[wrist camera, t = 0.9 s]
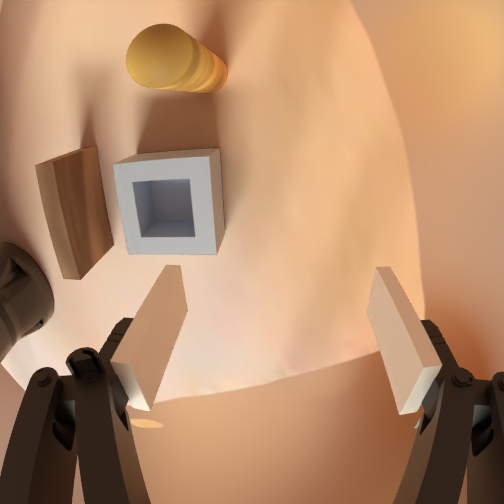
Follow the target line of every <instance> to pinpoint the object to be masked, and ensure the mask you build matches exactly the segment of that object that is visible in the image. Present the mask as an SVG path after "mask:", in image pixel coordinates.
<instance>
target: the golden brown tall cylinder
mask: <svg viewBox="0 0 504 504" xmlns="http://www.w3.org/2000/svg"><path fill="white" fill-rule="evenodd" d="M126 66H127V70H128V73H129V75H130V76H131V78H132V79H133V80H134V81H135V82H136V83H138V84H140V85H142V86H144V87H148V88H159V89H170V90H180V91H188V92H197V93H212V92H215V91H217V90H218V89H220V88H221V87H222V86H223V84H224V83H225V81H226V78H227V67H226V65H225V63H224V62H223V61H222V60H221V59H220V58H219V57H218V56H216V55H215V54H214V53H212V52H211V51H210V50H209V49H207V48H206V47H205V46H203V45H202V44H201V43H199V42H198V41H197V40H195V39H194V38H193V37H191V36H190V35H189V34H187V33H186V32H184V31H183V30H182V29H180V28H179V27H177V26H174V25H171V24H157V25H153V26H150V27H148V28H146V29H144V30H143V31H142V32H140V33H139V34H138V35H137V36H136V37H135V38H134V39H133V41H132V42H131V44H130V46H129V48H128V51H127V55H126Z"/></svg>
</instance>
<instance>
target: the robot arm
mask: <svg viewBox="0 0 504 504" xmlns="http://www.w3.org/2000/svg"><path fill="white" fill-rule="evenodd" d="M53 311H54V300H53V295H52V292H51V289H50V286H49V284H48V282H47V280H46V278H45V276H44V274H43V272H42V271H41V269H40V268H39V267H38V265H37V264H36V263H35V261H34V260H33V259H32V258H31V257H30V256H29V255H28V254H27V253H26V252H25V251H23V250H22V249H21V248H19V247H17V246H15V245H13V244H10V243H2V244H0V363H1V362H2V360H3V359H4V358H5V356H6V355H7V354H8V352H9V351H10V350H11V348H12V347H13V346H14V345H15V343H16V342H17V341H18V340H20V339H22V338H24V337H26V336H27V335H29V334H31V333H33V332H35V331H37V330H39V329H40V328H42V327H43V326H44V325H45V324H46V323H47V322H48V320H49V319H50V318H51V316H52V315H53ZM187 311H188V309H187V303H186V297H185V291H184V286H183V280H182V273H181V267H180V265H166V266H165V267H164V269H163V270H162V272H161V274H160V275H159V277H158V279H157V280H156V282H155V284H154V285H153V287H152V288H151V290H150V292H149V294H148V295H147V297H146V299H145V300H144V302H143V304H142V305H141V307H140V309H139V310H138V312H137V314H136V316H135V317H134V318H123V319H122V320H121V321H120V322H118V323H117V324H116V325H115V327H114V328H113V330H112V332H111V334H110V335H109V337H108V338H107V341H106V342H105V343H104V345H103V347H102V348H101V350H100V352H99V353H98V352H97V351H96V350H94V349H93V348H89V347H85V348H80V349H77V350H75V351H74V352H72V353H71V354H70V355H69V356H68V358H67V360H66V365H67V367H68V368H69V370H70V372H71V374H72V375H68V376H59V375H58V373H57V372H56V370H54V369H53V368H50V367H44V368H41V369H39V370H37V371H36V372H35V373H34V374H33V375H32V377H31V379H30V381H29V384H28V386H27V389H26V392H25V394H24V397H23V400H22V403H21V406H20V408H19V412H18V414H17V417H16V421H15V424H14V427H13V430H12V433H11V437H10V440H9V444H8V448H7V451H6V455H5V459H4V463H3V467H2V471H1V476H0V504H72V496H73V487H74V478H75V470H76V462H77V456H78V459H79V468H80V476H81V482H82V489H83V495H84V501H85V504H151V502H150V499H149V496H148V493H147V489H146V486H145V482H144V479H143V475H142V472H141V468H140V465H139V460H138V456H137V453H136V449H135V444H134V440H133V435H132V430H131V426H130V421H129V416H128V412H127V410H126V408H125V407H126V405H127V402H128V400H129V401H130V403H131V405H132V407H133V408H136V409H141V410H146V411H151V408H152V405H153V403H154V400H155V397H156V394H157V391H158V389H159V386H160V383H161V380H162V377H163V375H164V372H165V369H166V367H167V364H168V361H169V358H170V356H171V353H172V350H173V348H174V345H175V342H176V340H177V337H178V335H179V332H180V329H181V327H182V324H183V322H184V319H185V316H186V314H187ZM367 314H368V317H369V320H370V322H371V325H372V328H373V331H374V334H375V337H376V340H377V343H378V346H379V349H380V352H381V355H382V358H383V361H384V364H385V368H386V371H387V374H388V377H389V380H390V384H391V387H392V390H393V394H394V398H395V400H396V404H397V408H398V411H399V414H407V413H413V412H417V410H418V408H419V407H420V405H421V403H422V405H423V408H424V412H423V414H422V416H421V417H420V419H419V420H418V422H417V423H416V426H415V427H414V428H417V427H418V425H419V427H418V431H417V434H416V438H415V441H414V445H413V448H412V451H411V455H410V458H409V461H408V464H407V467H406V470H405V473H404V475H403V478H402V481H401V484H400V487H399V489H398V492H397V494H396V497H395V499H394V502H393V504H458V500H459V496H460V492H461V488H462V484H463V479H464V475H465V470H466V465H467V504H504V372H498V373H496V374H495V375H494V376H493V378H492V379H491V381H488V380H478V379H475V378H474V376H473V375H472V373H470V372H469V371H468V370H466V369H464V368H460V367H459V366H458V364H457V362H456V360H455V358H454V356H453V355H452V352H451V351H450V349H449V347H448V345H447V344H446V341H445V339H444V338H443V337H442V334H441V332H440V331H439V329H438V327H437V326H436V325H435V324H434V323H433V322H431V321H430V320H420V319H419V317H418V315H417V313H416V312H415V310H414V308H413V306H412V304H411V302H410V301H409V299H408V297H407V295H406V293H405V292H404V290H403V288H402V286H401V285H400V283H399V281H398V279H397V278H396V276H395V274H394V273H393V271H392V269H391V268H390V267H376V269H375V274H374V279H373V285H372V290H371V295H370V300H369V304H368V309H367Z"/></svg>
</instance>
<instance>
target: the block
mask: <svg viewBox="0 0 504 504" xmlns="http://www.w3.org/2000/svg"><path fill="white" fill-rule="evenodd" d="M113 171H114V178H115V185H116V191H117V198H118V204H119V209H120V215H121V220H122V226H123V231H124V236H125V241H126V246H127V250H128V254H149V255H217V253H218V251H219V248H220V245H221V243H222V240H223V237H224V235H225V226H224V211H223V195H222V179H221V161H220V148H207V149H190V150H177V151H165V152H154V153H144V154H135V155H133V156H130V157H128V158H126V159H124V160H121V161H119V162H117V163H115V164H113Z"/></svg>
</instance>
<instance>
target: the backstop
mask: <svg viewBox="0 0 504 504" xmlns="http://www.w3.org/2000/svg"><path fill="white" fill-rule="evenodd" d="M35 167H36V173H37V178H38V184H39V189H40V194H41V199H42V203H43V208H44V212H45V216H46V220H47V224H48V228H49V232H50V236H51V239H52V243H53V247H54V250H55V253H56V257H57V260H58V263H59V266H60V270H61V273H62V276H63V279H74V280H81V279H82V278H83V277H84V276H85V275H86V274H87V273H88V271H89V270H90V269H91V268H92V267H93V266H94V265H95V264H96V263H97V262H98V261H99V260H100V259H101V258H102V257H103V256H104V255H105V254H106V253H107V252H108V251H109V249H110V248H111V247H112V246H113V245H114V244H113V239H112V235H111V230H110V225H109V220H108V215H107V210H106V204H105V199H104V193H103V187H102V181H101V174H100V167H99V160H98V152H97V146H93V147H88V148H82V149H78V150H75V151H72V152H70V153H67V154H64V155H61V156H59V157H56V158H53V159H50V160H48V161H45V162H43V163H40V164H38V165H35Z"/></svg>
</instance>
